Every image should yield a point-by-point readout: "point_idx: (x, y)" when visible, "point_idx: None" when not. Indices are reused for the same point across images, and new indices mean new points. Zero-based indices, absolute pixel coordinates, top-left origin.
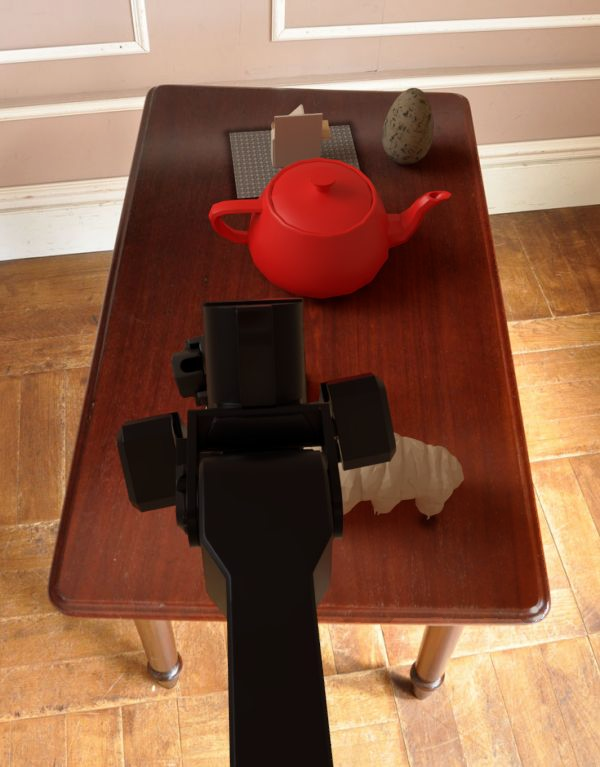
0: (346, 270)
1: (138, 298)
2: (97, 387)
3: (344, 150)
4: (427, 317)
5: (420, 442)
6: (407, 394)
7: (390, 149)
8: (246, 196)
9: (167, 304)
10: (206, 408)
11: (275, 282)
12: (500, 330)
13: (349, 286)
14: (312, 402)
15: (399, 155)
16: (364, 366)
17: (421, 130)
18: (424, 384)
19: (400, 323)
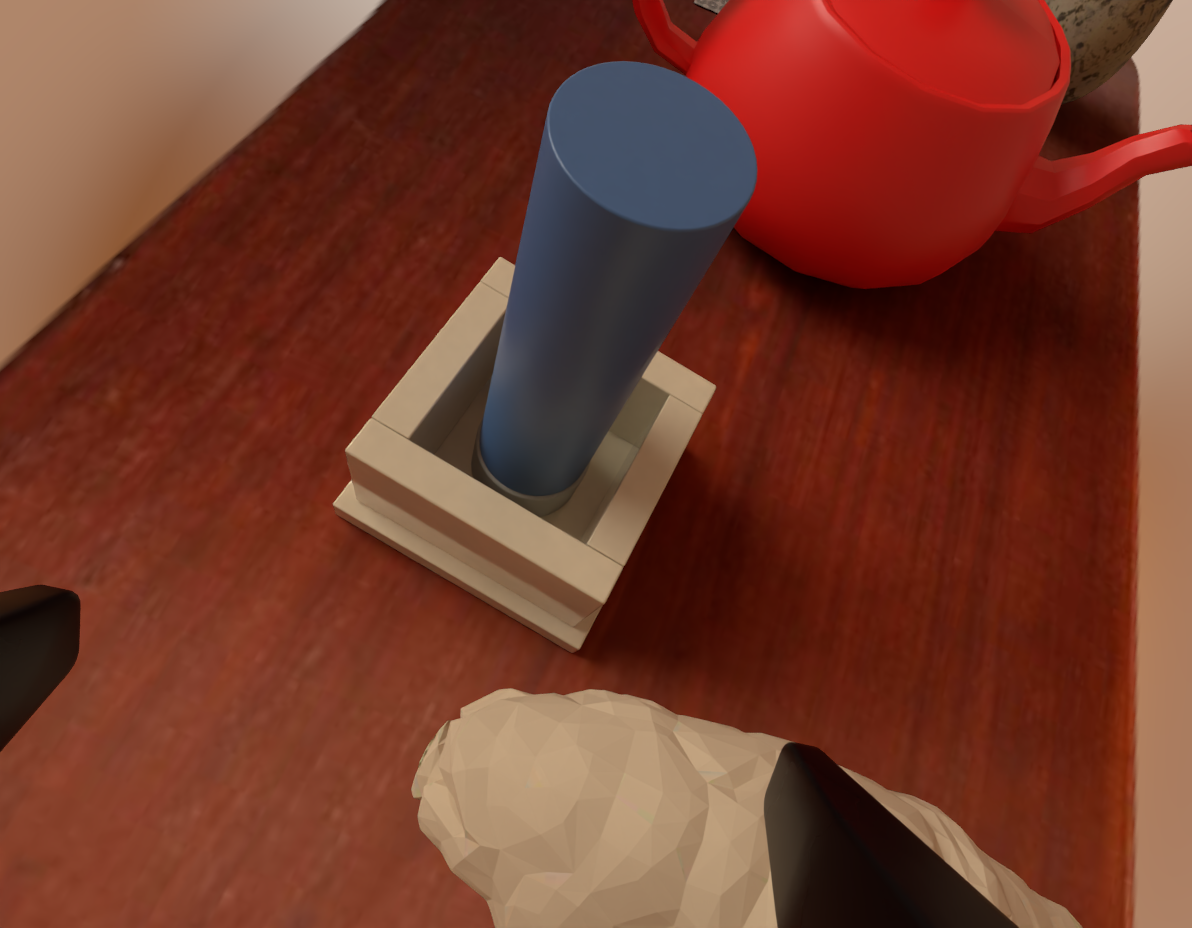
0: (908, 222)
1: (387, 80)
2: (157, 226)
3: None
4: (994, 419)
5: (1047, 917)
6: (906, 589)
7: None
8: (712, 8)
9: (445, 124)
10: (368, 423)
11: None
12: (1137, 520)
13: (883, 268)
14: (887, 874)
15: None
16: (829, 472)
17: (1137, 22)
18: (951, 580)
19: (935, 406)
